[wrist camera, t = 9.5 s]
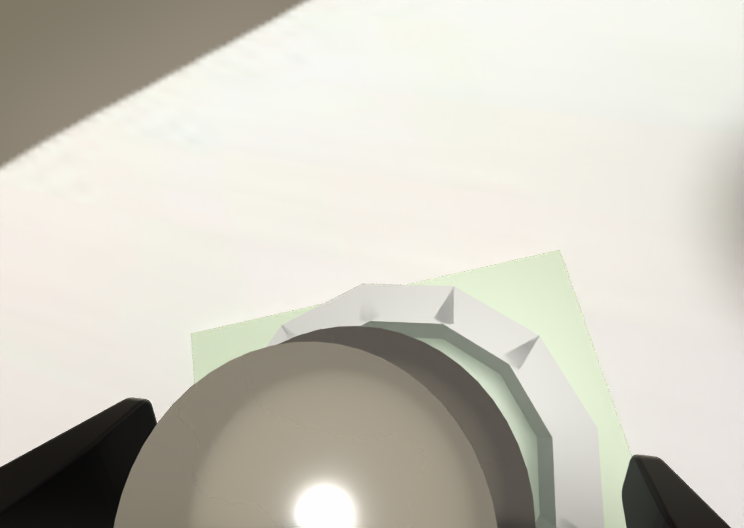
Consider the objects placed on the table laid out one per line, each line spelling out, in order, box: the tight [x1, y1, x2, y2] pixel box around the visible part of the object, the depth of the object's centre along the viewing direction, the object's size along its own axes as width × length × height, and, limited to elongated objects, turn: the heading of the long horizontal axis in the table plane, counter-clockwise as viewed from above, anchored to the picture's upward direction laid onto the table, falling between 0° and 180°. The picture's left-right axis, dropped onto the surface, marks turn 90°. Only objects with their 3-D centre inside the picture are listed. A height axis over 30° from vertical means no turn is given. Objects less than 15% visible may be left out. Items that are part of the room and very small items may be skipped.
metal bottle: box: [114, 326, 536, 528], centre depth 11 cm, size 5×5×12 cm
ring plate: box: [191, 250, 632, 528], centre depth 16 cm, size 14×12×3 cm
